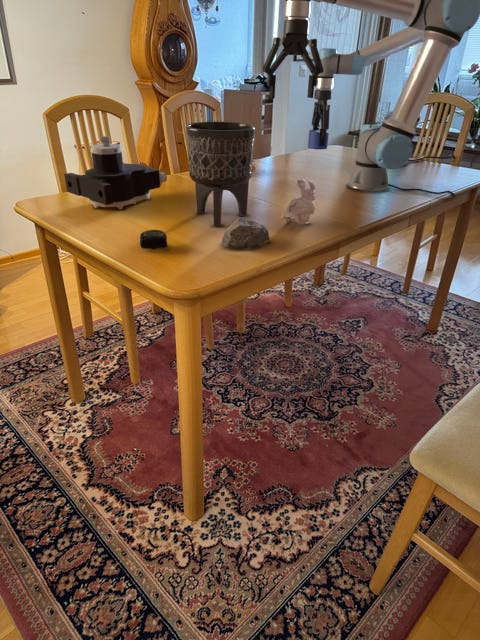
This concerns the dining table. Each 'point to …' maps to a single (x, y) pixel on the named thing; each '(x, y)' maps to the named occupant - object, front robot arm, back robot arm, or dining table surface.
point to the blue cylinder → (316, 139)
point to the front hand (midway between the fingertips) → (291, 98)
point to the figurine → (301, 204)
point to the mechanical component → (113, 178)
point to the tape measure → (153, 239)
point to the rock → (245, 234)
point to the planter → (220, 162)
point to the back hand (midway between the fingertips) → (318, 143)
